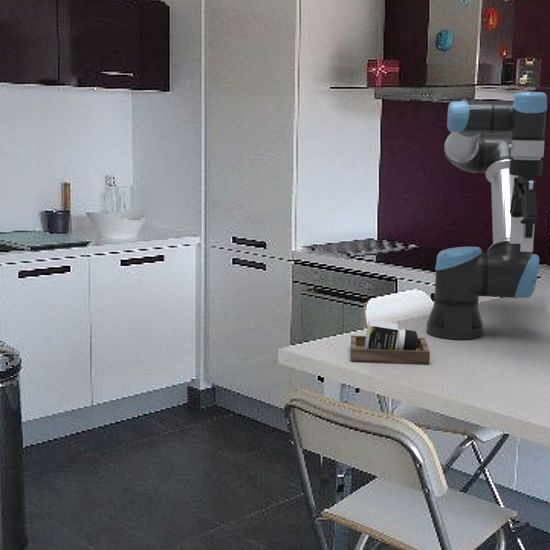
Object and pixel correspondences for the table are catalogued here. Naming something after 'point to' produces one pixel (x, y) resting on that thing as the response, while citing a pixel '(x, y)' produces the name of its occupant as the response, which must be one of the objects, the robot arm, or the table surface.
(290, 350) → the table surface
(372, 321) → the medicine bottle
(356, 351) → the walnut tray
